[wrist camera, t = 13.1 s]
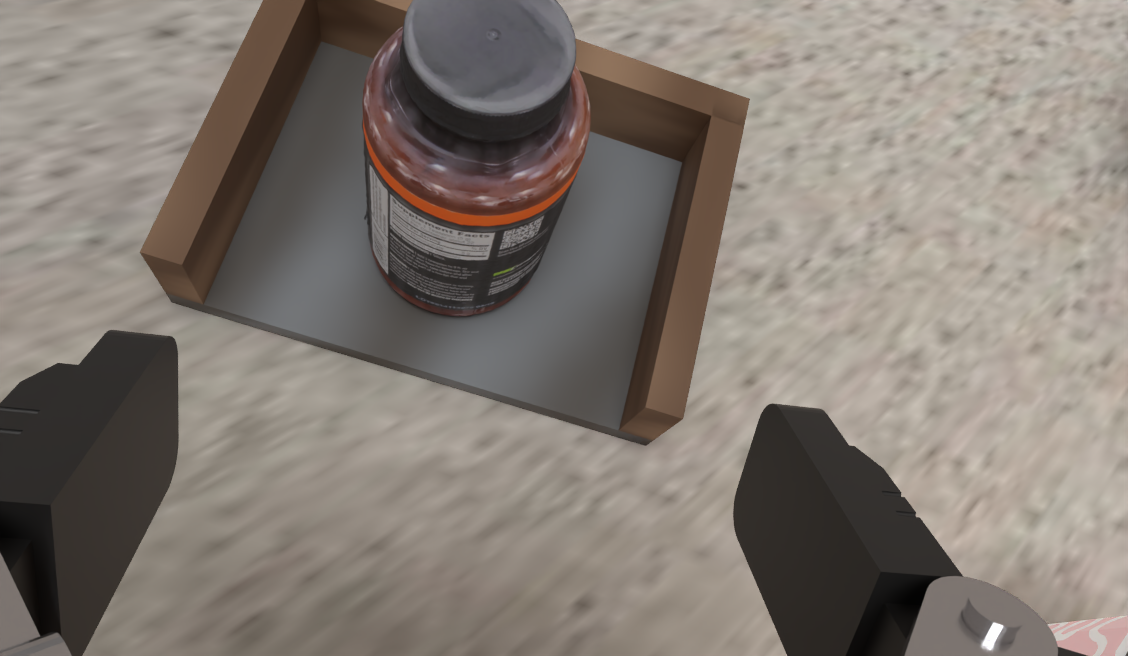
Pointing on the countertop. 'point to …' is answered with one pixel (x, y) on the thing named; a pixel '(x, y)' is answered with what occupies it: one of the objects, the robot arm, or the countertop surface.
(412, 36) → the supplement bottle
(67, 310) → the countertop surface
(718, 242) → the frame
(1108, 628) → the beverage cup
